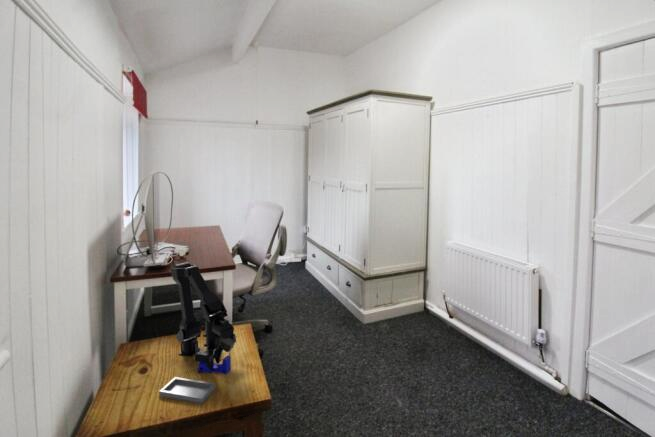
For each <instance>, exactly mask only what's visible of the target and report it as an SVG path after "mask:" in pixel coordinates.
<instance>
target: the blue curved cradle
mask: <svg viewBox="0 0 655 437" xmlns="http://www.w3.org/2000/svg"><path fill="white" fill-rule="evenodd" d="M197 363H198V364H197V370H198V372H203V373H206V374H212V373H214V372H215V373H219V374H220V373H221V374H224V375H227V374H228V373H230V372H231V370H232V369H231V368H232V367H231V355H226V356H225V357H224V358H223V359H222V362H221V363H219V364H217V363H216V362H214V364H213V370H210V369H209V368H208V366H207V365H206V363H204V362H197Z"/></svg>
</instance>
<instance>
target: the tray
mask: <svg viewBox="0 0 655 437" xmlns="http://www.w3.org/2000/svg"><path fill="white" fill-rule="evenodd" d="M216 384H217V383H215V382H209V381H203V380H196V379H192V378H191V379H190V378H184V377H178V376H174V377H173V378H172V379H171V380H170V381H168V383H167V384H165V385H164V386H163V387H162V388H161V389H160V390H158V392H159V393H158V396H159V397H160V398H166V399H173V400H178V401H181V402H182V401H183V402H188V403H194V404H200V405H203V404H204V403H205V402H206V401H207V399H209V397H210V396H211V395H212V394H213V393H214V391H215V390H216V389H217V385H216Z"/></svg>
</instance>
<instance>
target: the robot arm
mask: <svg viewBox="0 0 655 437" xmlns="http://www.w3.org/2000/svg"><path fill="white" fill-rule="evenodd" d="M170 274H171V276H172V280H173V281H174V282H175V283H176V285H177V286H178V287H177V288H178V295H179V300H180V301H179V303H180V309H181V316H182V319H181V321H180V323H179V331H178V332H177V334H176V335H175V338H176V340H177V342H179V343H180V351H179V353H178V355H181V356H186V357H187V356H188V357H193V360H194V362H197V363H200V362H204V363H206V365H207V366H208V368H209V369H210V370H213V364H214V363H216V364H220V362H221V358H222V354H223V351H224V352H225V353H230V352H231V350H232V349H233V348H234V347H235V344H236V342H237V337H236V334H235V333H234V332H235V328H234V325H233V324H231V322H230V320H228V319H226V317H228V311H227V309H226V306H225V305H224V302H223V301H222V300H221V298H220V297H219V295H218V294H216V293H215V292H212V290H211V289H210V287H209V286H208V284H207V282H206V281H205V279H204V277H203V275H202V274H201V271H200V268H199V266H198V265H196V264H193V263H190V262H188V261H187V262H183V263H177V264H174V265H172V267H171V268H170ZM191 286H192V287H193V288H192V287H191ZM192 289H194V292H195V293H196V294H197V296H198V298H199V307H200V311H201V313H202V318H204V324H205V326H204V328H205V332H204V333H203V335H202V329H203V328H202V325H201V321H200V320H199V319H198V318H197V317H196V315H195V310H194V309H195V308H194V302H193V294H192ZM201 335H202V336H203V337H204V338H205V343H204V344H203V347H205V348H206V349H201V348H200V347H199V341H198V338H201ZM214 361H215V362H214Z"/></svg>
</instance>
